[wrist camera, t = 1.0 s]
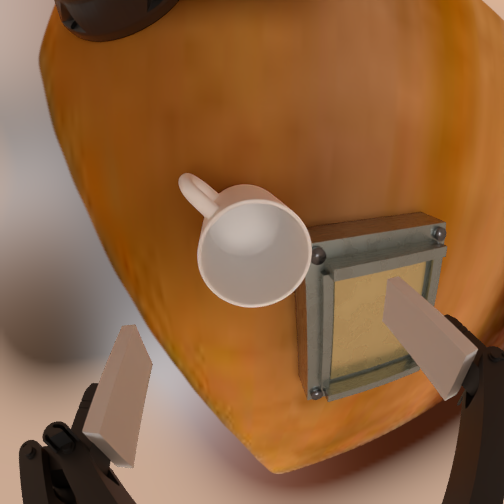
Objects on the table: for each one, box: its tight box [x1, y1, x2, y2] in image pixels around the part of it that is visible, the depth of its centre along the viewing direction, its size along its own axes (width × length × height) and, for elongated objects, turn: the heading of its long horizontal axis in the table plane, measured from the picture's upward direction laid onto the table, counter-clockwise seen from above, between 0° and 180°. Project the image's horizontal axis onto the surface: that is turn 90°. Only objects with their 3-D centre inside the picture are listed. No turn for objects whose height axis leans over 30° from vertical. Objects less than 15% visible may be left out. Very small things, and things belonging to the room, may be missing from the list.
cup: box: [179, 173, 312, 307], centre depth 24 cm, size 8×12×10 cm
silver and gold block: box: [295, 212, 447, 402], centre depth 31 cm, size 22×18×8 cm
